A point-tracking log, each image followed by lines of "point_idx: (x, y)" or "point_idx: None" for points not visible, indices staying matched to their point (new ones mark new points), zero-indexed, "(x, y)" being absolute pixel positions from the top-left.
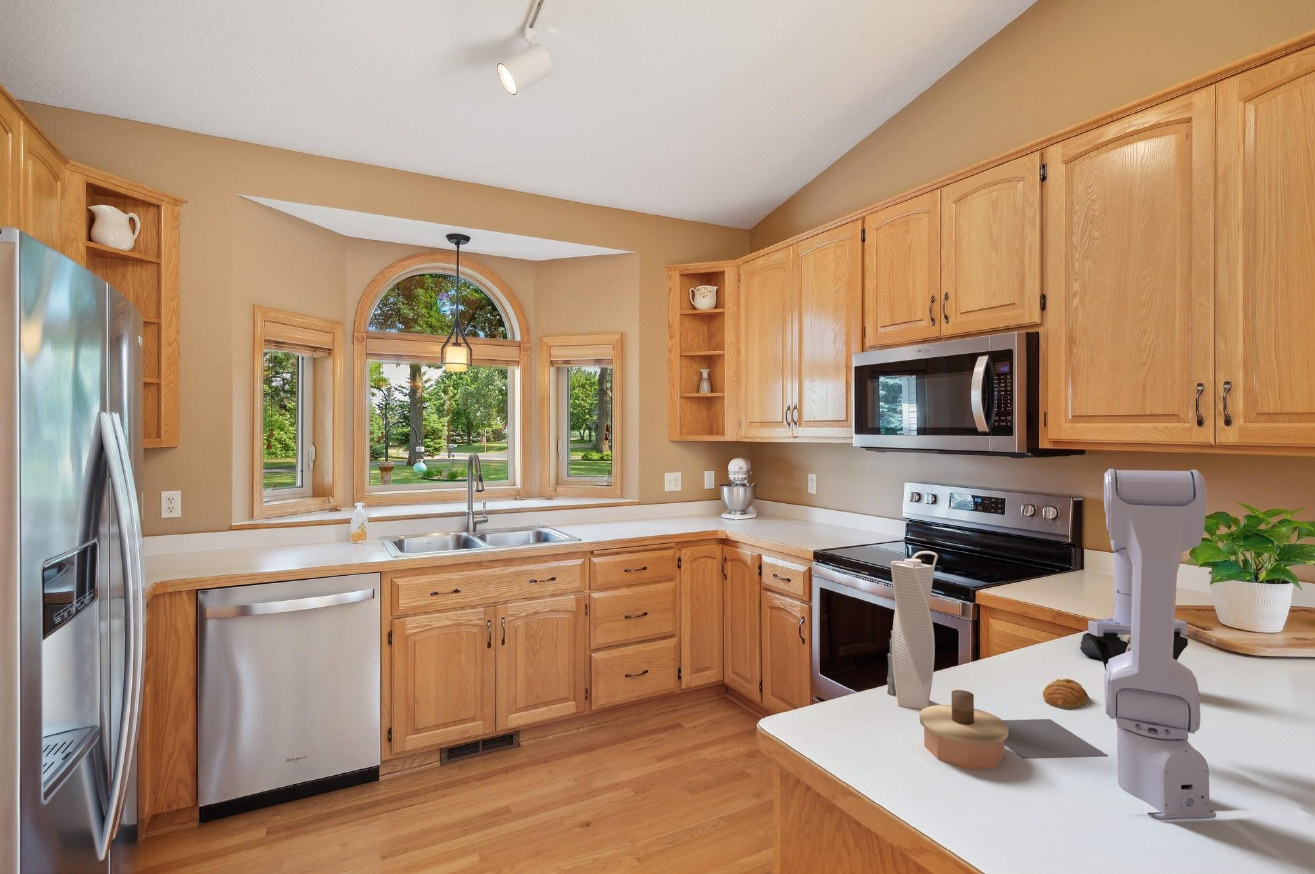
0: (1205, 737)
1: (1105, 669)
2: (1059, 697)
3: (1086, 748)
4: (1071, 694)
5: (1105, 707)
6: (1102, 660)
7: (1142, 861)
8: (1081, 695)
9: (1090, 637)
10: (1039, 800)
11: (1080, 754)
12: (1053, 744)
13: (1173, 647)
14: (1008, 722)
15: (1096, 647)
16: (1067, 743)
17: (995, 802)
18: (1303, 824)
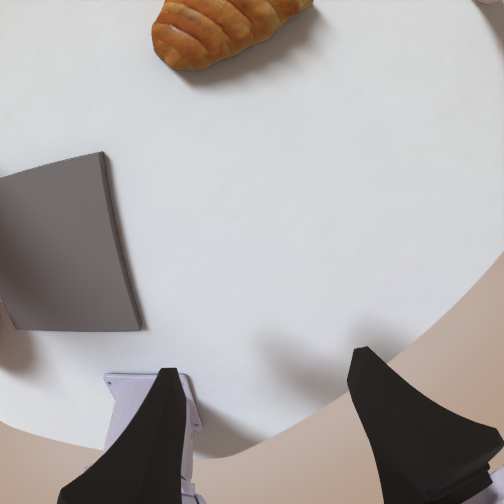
0: (418, 221)
1: (148, 392)
2: (176, 44)
3: (112, 305)
4: (224, 31)
5: (83, 470)
6: (132, 419)
7: (99, 448)
8: (261, 29)
9: (63, 489)
10: (34, 389)
11: (93, 325)
12: (60, 289)
13: (384, 501)
14: (10, 189)
15: (98, 460)
16: (84, 286)
17: (3, 383)
18: (288, 427)
